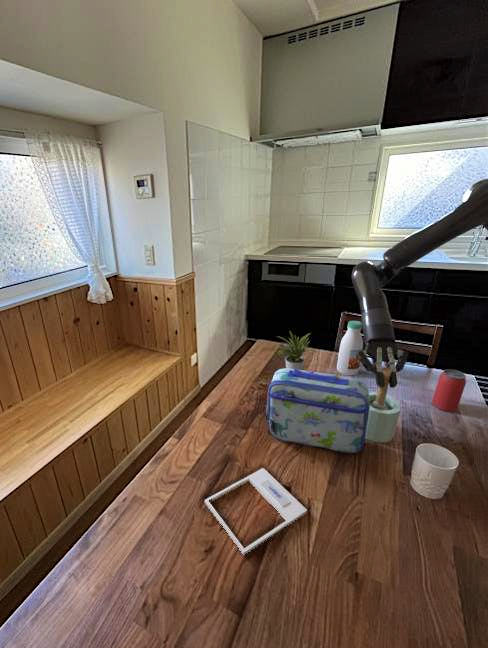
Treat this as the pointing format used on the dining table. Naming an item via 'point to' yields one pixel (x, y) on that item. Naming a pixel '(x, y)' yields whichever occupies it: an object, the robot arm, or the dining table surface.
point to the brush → (382, 391)
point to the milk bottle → (350, 349)
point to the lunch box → (318, 410)
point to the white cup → (432, 470)
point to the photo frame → (273, 494)
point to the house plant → (294, 352)
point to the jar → (382, 420)
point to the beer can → (449, 390)
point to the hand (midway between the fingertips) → (387, 386)
